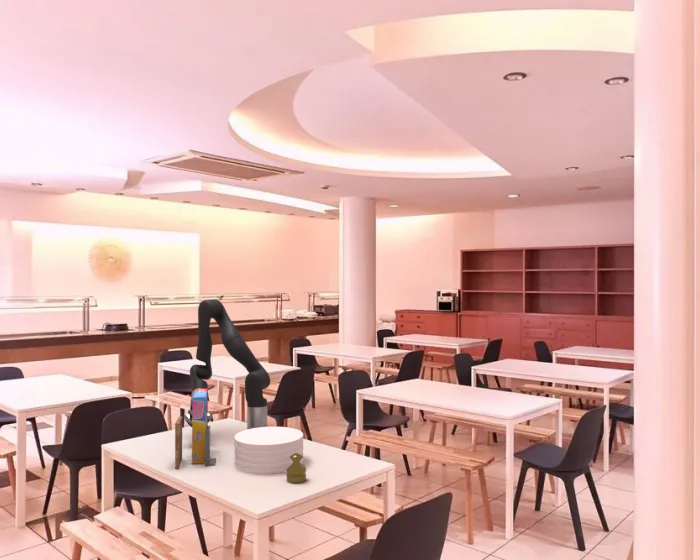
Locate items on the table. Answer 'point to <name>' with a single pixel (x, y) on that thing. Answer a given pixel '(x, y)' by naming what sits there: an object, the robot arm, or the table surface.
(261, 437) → the plate stack
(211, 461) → the dark metal bookend
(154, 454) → the table surface
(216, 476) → the table surface
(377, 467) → the table surface
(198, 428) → the game box
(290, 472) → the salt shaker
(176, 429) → the oak shelf wall
